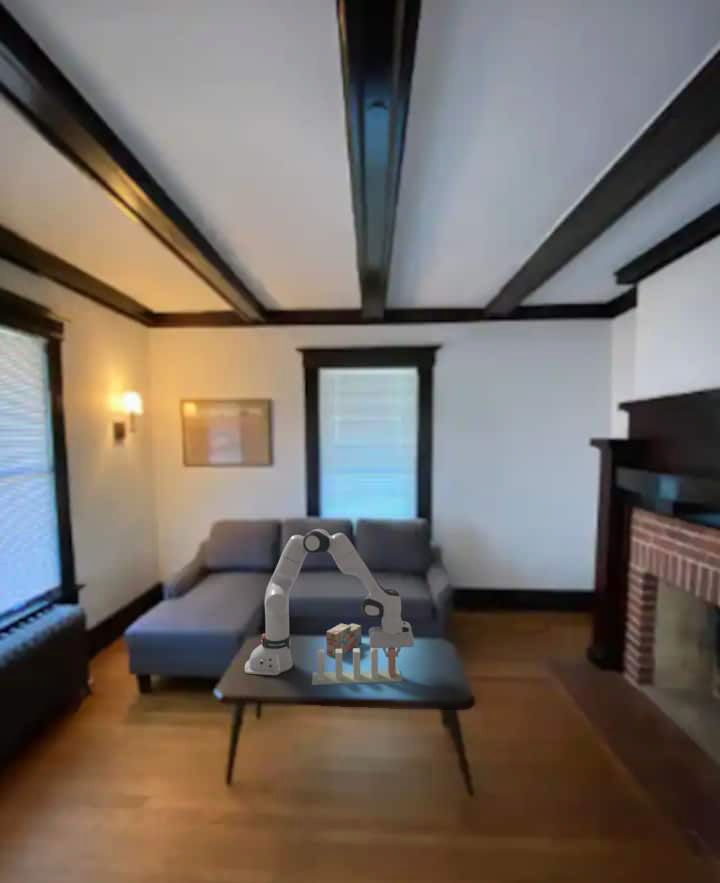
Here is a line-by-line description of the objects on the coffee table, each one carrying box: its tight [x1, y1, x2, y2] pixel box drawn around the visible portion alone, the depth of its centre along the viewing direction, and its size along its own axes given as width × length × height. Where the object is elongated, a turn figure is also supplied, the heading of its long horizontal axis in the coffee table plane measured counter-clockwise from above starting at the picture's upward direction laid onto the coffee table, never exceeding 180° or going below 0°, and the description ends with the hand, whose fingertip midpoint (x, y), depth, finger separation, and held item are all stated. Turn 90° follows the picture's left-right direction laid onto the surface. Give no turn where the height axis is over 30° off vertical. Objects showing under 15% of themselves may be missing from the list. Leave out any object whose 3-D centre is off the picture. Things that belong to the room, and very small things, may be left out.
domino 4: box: [369, 647, 379, 678], centre depth 216 cm, size 3×4×12 cm
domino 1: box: [317, 648, 326, 680], centre depth 215 cm, size 3×4×12 cm
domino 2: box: [335, 649, 343, 680], centre depth 215 cm, size 3×4×12 cm
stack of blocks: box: [325, 622, 362, 659], centre depth 245 cm, size 21×6×12 cm, turn 144°
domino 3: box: [352, 647, 361, 679], centre depth 216 cm, size 3×4×12 cm
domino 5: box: [387, 648, 397, 675], centre depth 217 cm, size 3×4×12 cm
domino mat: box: [311, 669, 403, 686], centre depth 216 cm, size 40×10×1 cm, turn 93°
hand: (391, 656), depth 217 cm, fingers closed on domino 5, 3 cm apart
